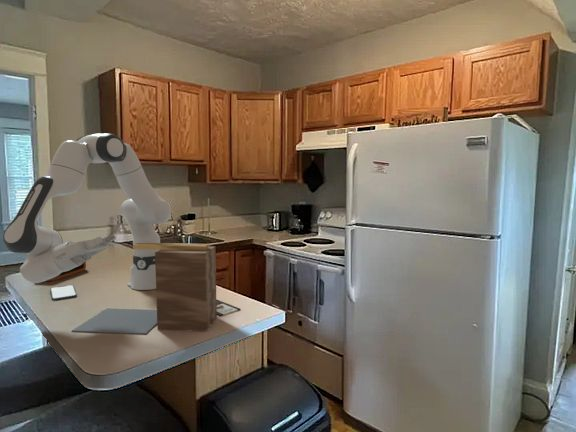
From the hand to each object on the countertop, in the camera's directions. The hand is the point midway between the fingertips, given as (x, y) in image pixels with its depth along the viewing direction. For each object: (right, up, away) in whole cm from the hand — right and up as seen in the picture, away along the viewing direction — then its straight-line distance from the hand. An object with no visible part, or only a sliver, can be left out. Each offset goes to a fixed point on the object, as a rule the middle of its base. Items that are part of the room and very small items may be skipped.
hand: (107, 237), depth 126 cm
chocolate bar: (+33, -27, +16) cm, 46 cm away
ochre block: (+22, -4, -2) cm, 22 cm away
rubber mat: (+5, -28, +2) cm, 29 cm away
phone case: (-33, -26, +31) cm, 52 cm away
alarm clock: (-51, -22, +60) cm, 82 cm away
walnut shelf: (+27, -28, 0) cm, 39 cm away
